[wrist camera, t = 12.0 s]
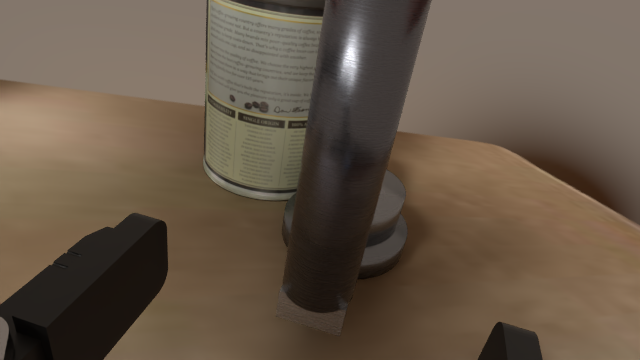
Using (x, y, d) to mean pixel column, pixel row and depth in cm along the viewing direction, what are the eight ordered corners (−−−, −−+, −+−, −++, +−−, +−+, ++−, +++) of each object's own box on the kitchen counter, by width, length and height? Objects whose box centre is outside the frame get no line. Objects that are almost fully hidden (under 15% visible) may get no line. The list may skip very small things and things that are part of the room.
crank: (330, 144, 37) (372, -84, 28) (406, 164, 36) (473, -66, 28) (235, 321, 20) (269, -104, 12) (373, 364, 19) (516, -59, 11)
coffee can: (191, 139, 38) (192, -45, 31) (304, 134, 42) (328, -29, 35) (216, 209, 30) (226, -15, 23) (352, 195, 34) (396, 1, 27)
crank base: (345, 190, 35) (349, 174, 34) (426, 250, 30) (432, 233, 29) (258, 220, 30) (260, 201, 29) (337, 298, 25) (342, 278, 24)
